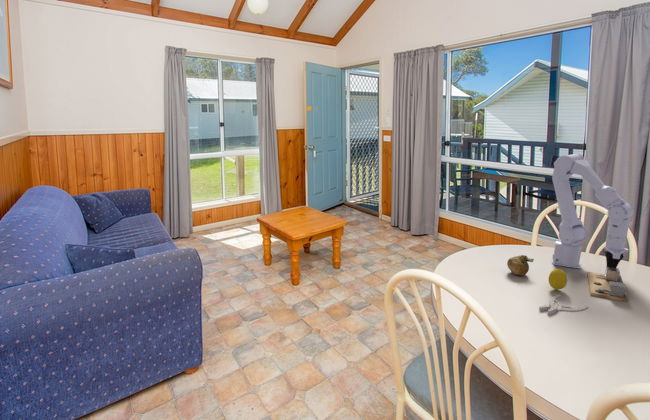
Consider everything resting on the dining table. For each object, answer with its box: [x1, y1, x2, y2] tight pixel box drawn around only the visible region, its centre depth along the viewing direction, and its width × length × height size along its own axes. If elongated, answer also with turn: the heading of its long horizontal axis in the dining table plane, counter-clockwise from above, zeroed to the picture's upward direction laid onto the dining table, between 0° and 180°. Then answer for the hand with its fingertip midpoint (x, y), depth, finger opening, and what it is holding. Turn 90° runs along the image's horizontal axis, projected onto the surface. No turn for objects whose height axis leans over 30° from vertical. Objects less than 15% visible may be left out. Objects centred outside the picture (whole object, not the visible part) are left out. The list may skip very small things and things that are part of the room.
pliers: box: [538, 294, 589, 316], centre depth 127 cm, size 10×2×15 cm
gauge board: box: [586, 271, 628, 303], centre depth 140 cm, size 10×20×2 cm, turn 150°
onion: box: [506, 254, 535, 276], centre depth 151 cm, size 8×8×8 cm
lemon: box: [548, 268, 568, 291], centre depth 137 cm, size 6×6×8 cm
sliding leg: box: [595, 266, 621, 281], centre depth 144 cm, size 7×4×4 cm, turn 60°
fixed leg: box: [598, 281, 626, 297], centre depth 132 cm, size 7×4×4 cm, turn 60°
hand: (610, 271), depth 147 cm, fingers closed
